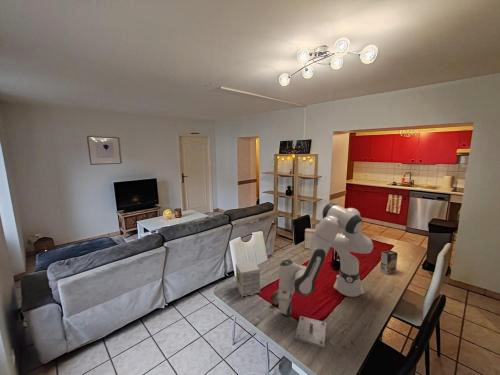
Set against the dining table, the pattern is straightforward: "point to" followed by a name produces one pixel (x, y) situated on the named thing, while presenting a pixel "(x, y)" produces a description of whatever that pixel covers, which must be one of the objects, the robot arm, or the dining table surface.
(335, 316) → the dining table surface
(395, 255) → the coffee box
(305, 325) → the hub plate
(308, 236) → the coffeecake box
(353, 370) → the dining table surface
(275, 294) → the tin
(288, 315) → the labeled dark box
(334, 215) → the robot arm
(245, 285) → the supplement box
